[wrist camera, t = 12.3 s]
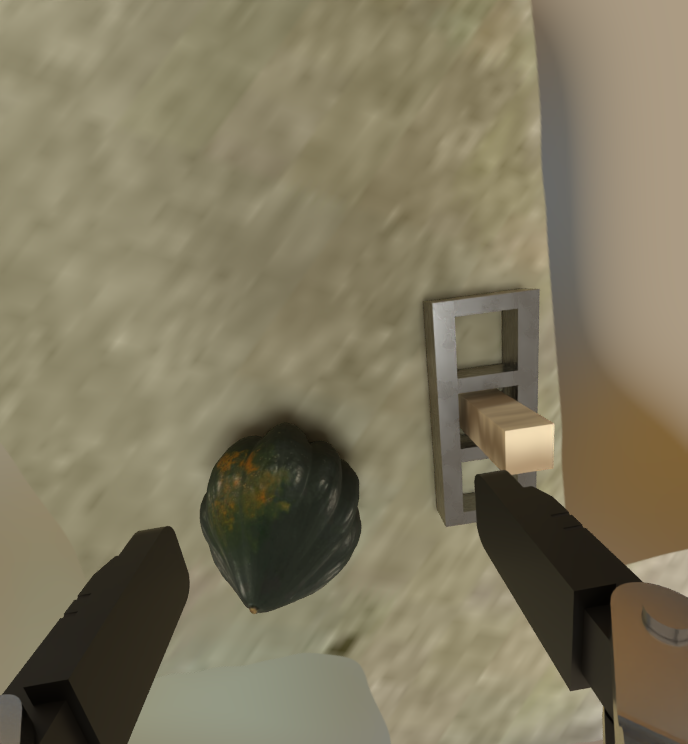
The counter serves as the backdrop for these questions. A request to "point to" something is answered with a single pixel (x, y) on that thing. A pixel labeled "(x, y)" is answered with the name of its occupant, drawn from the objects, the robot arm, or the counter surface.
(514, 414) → the square peg
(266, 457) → the squash
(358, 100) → the counter surface
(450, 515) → the gray slotted tray
